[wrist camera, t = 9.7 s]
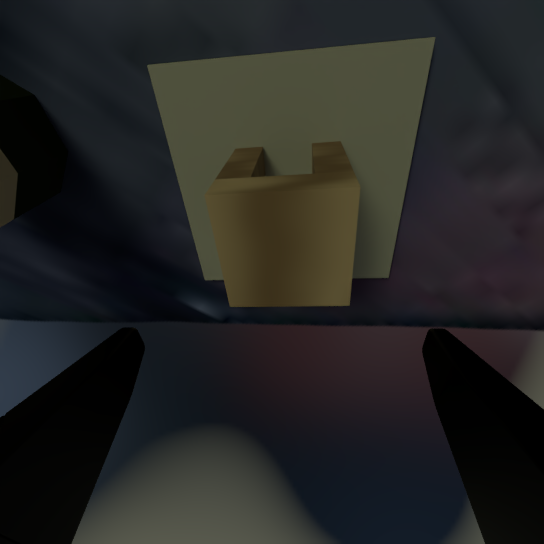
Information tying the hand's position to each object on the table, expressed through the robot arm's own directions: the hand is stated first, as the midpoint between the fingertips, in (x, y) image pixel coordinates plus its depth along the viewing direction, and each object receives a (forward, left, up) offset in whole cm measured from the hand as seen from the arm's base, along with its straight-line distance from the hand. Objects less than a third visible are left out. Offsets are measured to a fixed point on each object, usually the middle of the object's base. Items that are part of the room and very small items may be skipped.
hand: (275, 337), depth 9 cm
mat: (0, 0, -12) cm, 12 cm away
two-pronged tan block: (0, 0, -12) cm, 12 cm away
